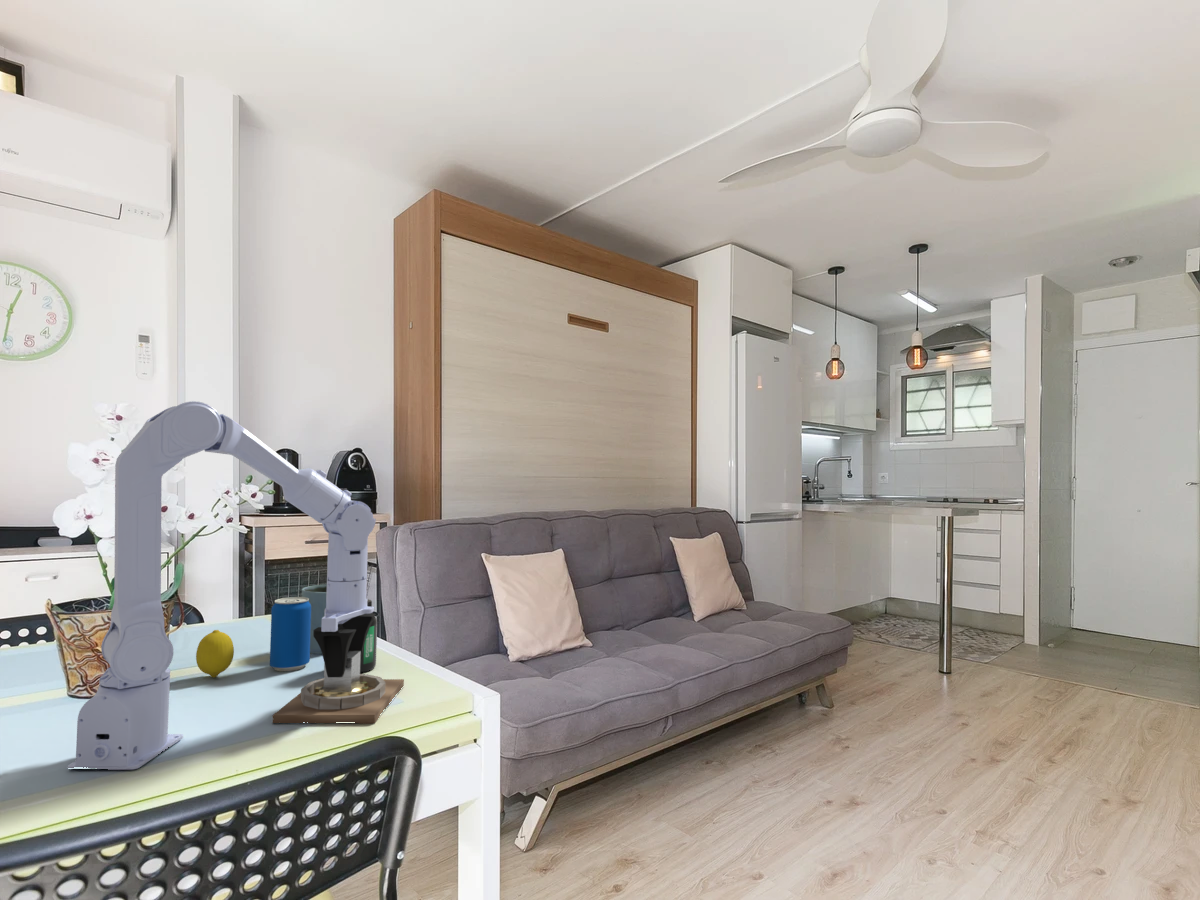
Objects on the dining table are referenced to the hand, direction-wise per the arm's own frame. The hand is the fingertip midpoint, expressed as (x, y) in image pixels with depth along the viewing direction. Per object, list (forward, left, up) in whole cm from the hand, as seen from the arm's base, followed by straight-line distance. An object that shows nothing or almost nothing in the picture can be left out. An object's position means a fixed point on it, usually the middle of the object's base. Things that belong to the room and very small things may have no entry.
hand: (344, 668), depth 99 cm
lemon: (+13, +26, -5) cm, 30 cm away
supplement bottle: (+18, +4, -5) cm, 19 cm away
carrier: (0, 0, -5) cm, 5 cm away
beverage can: (+19, +16, -5) cm, 25 cm away
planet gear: (0, 0, -4) cm, 4 cm away
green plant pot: (+32, +14, -5) cm, 35 cm away
